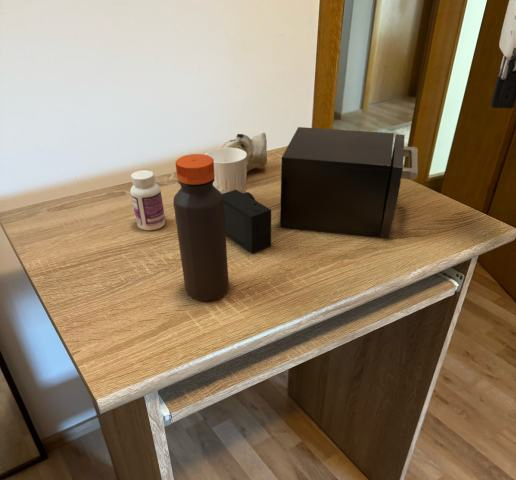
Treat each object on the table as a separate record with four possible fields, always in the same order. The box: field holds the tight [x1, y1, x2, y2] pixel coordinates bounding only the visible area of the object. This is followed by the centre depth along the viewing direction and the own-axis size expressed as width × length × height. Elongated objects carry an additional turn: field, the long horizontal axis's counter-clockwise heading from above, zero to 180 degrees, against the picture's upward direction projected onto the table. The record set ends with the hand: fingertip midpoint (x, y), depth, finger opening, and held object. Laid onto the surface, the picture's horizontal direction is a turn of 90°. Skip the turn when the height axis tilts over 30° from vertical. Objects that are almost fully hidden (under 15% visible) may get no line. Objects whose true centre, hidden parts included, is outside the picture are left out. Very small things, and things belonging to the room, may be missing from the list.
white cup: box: [204, 147, 248, 194], centre depth 94 cm, size 8×8×10 cm
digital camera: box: [222, 190, 272, 254], centre depth 85 cm, size 10×5×7 cm, turn 37°
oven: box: [279, 126, 395, 238], centre depth 90 cm, size 18×16×13 cm
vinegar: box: [173, 153, 230, 302], centre depth 69 cm, size 7×7×20 cm
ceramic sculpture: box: [221, 132, 268, 172], centre depth 107 cm, size 11×9×15 cm
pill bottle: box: [130, 169, 166, 231], centre depth 89 cm, size 5×5×10 cm
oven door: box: [379, 133, 419, 239], centre depth 88 cm, size 4×16×13 cm, turn 166°
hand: (501, 106), depth 76 cm, fingers closed
